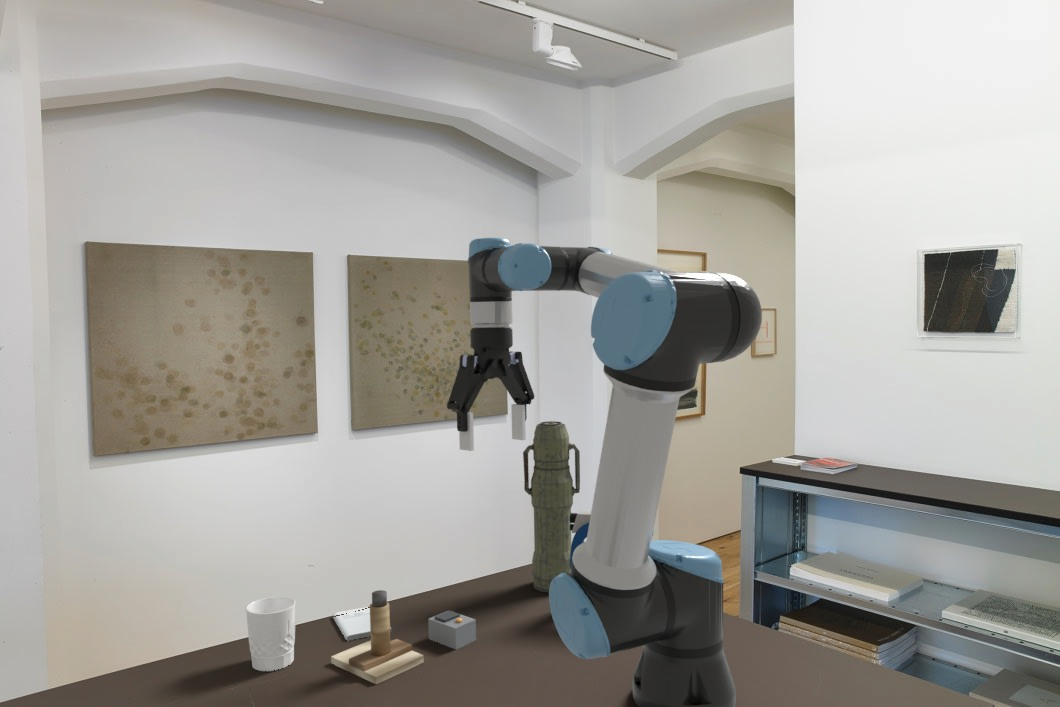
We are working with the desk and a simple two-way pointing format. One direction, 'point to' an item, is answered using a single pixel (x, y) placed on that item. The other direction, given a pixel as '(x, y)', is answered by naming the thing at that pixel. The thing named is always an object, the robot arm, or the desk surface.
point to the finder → (452, 629)
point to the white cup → (271, 632)
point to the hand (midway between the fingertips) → (493, 444)
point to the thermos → (551, 501)
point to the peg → (380, 624)
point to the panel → (378, 661)
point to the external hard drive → (354, 623)
